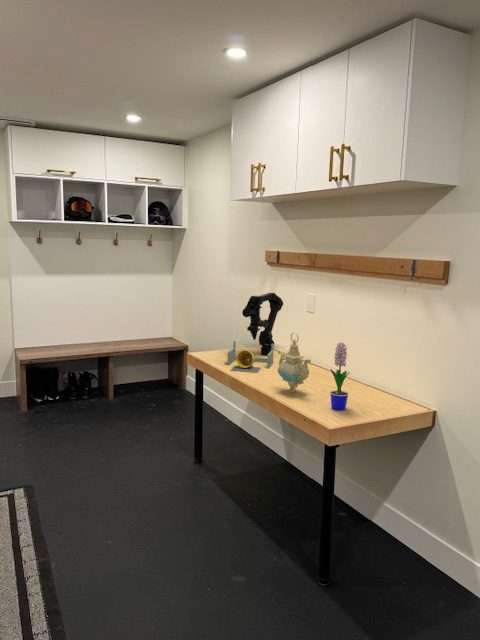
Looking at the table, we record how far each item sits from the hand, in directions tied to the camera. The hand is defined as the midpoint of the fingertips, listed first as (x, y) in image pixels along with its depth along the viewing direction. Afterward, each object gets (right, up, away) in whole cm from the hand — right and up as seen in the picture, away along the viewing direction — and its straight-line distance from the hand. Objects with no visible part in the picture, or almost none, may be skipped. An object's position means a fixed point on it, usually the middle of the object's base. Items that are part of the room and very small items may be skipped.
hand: (254, 339), depth 317 cm
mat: (-6, -16, -28) cm, 33 cm away
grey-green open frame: (-3, -14, -14) cm, 20 cm away
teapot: (+17, -23, -71) cm, 77 cm away
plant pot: (-4, -11, -18) cm, 22 cm away
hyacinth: (+35, -27, -95) cm, 105 cm away
